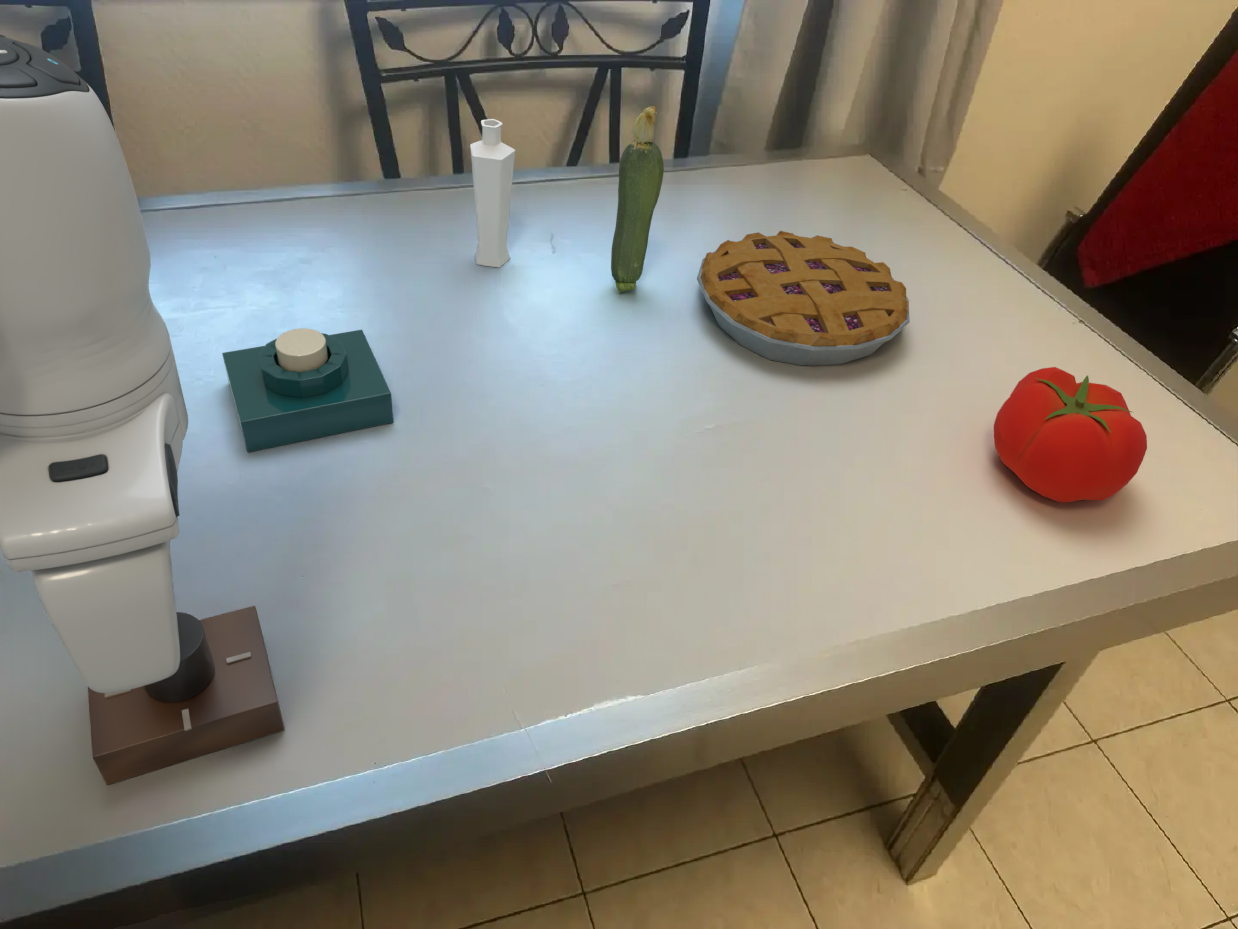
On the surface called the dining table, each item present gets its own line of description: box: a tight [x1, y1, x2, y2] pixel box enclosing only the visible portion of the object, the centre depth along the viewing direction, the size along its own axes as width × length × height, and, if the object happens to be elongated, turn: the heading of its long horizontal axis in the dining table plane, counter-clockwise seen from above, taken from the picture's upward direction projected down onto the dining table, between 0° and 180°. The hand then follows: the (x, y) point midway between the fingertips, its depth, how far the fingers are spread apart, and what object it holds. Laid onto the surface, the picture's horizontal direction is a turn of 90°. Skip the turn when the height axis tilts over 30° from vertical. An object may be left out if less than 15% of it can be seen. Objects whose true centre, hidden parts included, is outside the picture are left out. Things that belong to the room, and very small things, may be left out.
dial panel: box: [87, 605, 286, 786], centre depth 59 cm, size 10×8×3 cm
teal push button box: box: [221, 329, 395, 453], centre depth 81 cm, size 12×10×5 cm
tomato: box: [993, 366, 1148, 504], centre depth 82 cm, size 13×12×8 cm
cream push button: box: [275, 327, 328, 372], centre depth 79 cm, size 4×4×2 cm
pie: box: [696, 230, 911, 366], centre depth 99 cm, size 22×22×5 cm
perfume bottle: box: [469, 118, 516, 268], centre depth 99 cm, size 5×4×15 cm
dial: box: [144, 611, 215, 703], centre depth 56 cm, size 4×4×4 cm
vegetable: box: [610, 105, 665, 295], centre depth 95 cm, size 4×4×20 cm
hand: (142, 603), depth 53 cm, fingers open, 8 cm apart
